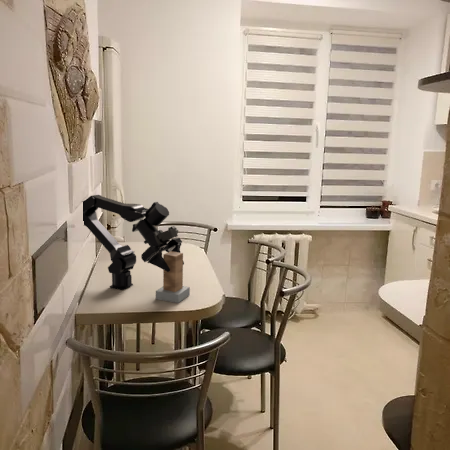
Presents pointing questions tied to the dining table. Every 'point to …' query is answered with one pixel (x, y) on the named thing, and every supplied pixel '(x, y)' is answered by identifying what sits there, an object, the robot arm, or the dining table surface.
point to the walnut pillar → (173, 271)
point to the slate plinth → (173, 294)
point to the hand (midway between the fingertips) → (176, 267)
